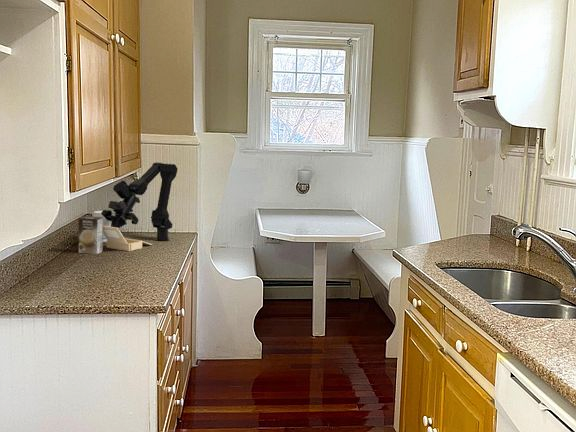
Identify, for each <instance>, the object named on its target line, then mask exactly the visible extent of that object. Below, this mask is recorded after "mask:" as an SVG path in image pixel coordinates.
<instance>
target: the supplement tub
mask: <svg viewBox="0 0 576 432" xmlns="http://www.w3.org/2000/svg"><path fill="white" fill-rule="evenodd" d="M102 211H103V210H96V211H93V216H92V217H102V226H109V227H111V221H108V220H107V219H106V218H105V217H104V216H103V215H102V214H101V213H102ZM112 213H114V211H112ZM102 243H107V239H106V237H105V236H104V234H103V233H102Z"/></svg>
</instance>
